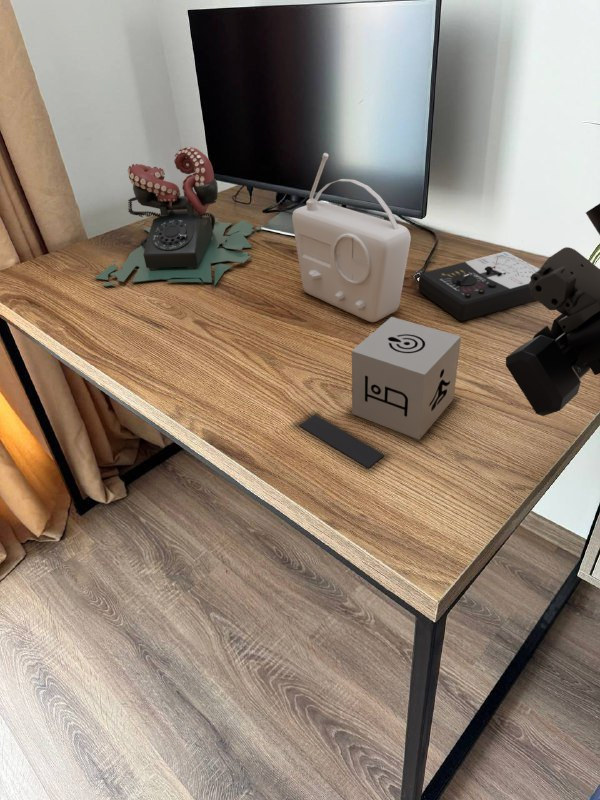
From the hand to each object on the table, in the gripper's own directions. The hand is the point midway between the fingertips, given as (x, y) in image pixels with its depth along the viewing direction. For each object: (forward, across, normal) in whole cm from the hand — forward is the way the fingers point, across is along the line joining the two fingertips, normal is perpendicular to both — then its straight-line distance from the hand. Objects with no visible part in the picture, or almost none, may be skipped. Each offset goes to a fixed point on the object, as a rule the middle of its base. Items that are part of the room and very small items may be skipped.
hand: (513, 371), depth 63 cm
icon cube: (+19, -1, -1) cm, 19 cm away
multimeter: (+26, -36, -8) cm, 45 cm away
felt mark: (+20, +10, -2) cm, 23 cm away
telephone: (+68, -13, -50) cm, 86 cm away
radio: (+38, -18, -20) cm, 46 cm away
